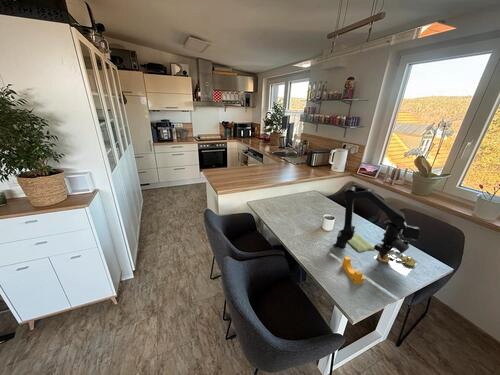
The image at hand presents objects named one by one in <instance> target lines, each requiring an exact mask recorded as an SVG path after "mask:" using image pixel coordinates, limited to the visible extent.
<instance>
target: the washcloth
mask: <svg viewBox="0 0 500 375" xmlns="http://www.w3.org/2000/svg"><path fill="white" fill-rule="evenodd" d="M347 244H349V245H350V247H351V248H353V249H354V250H355V251H357V253H364V252H365V253H366V252H368V251H370V252H371V251H372V252H373V251H376V250H375V249H374V246H373V245H372V244H370V243H369V242H368V241H367V240H365V238H364V237H362V236H361V235H360V234H358V233H354V237H352V239H351V240H348V241H347Z"/></svg>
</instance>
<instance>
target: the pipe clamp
mask: <svg viewBox="0 0 500 375" xmlns="http://www.w3.org/2000/svg"><path fill="white" fill-rule="evenodd" d="M351 261H352V259H351V258H350V257H349V256H343V261H342V264H341V267H342V268H343V270H344V271H345V273H346V274H347V276H349V278H350V279H351V281H352V282H353V283H354V285H358V284H359V285H360V284H364V282H365V278H364V276H363V275H364V274H363V272H362V271H360V270H359V271H358V270H356V269H353V267H352V262H351Z"/></svg>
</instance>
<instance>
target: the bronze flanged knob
mask: <svg viewBox="0 0 500 375" xmlns="http://www.w3.org/2000/svg"><path fill="white" fill-rule="evenodd" d="M387 255H388V254H387ZM387 255H385V256H384V257H383V258H381V257H380V254H379V253H377V259H378V260H377V259H376V260H377V261H378V262H380V261H381V263H382V262H383V263H382V264H384V263H388V262H389V260H390V258H389V257H388V256H387Z"/></svg>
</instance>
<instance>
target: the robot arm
mask: <svg viewBox="0 0 500 375" xmlns="http://www.w3.org/2000/svg"><path fill="white" fill-rule="evenodd" d="M343 197H344V202H345V210H344V211H345V214H344V224H343V229H341V230H338V233H337V236H336V242H335V243H334V244H332V246H333V247H335V248H336V249H338V248H339V249H345V248H346V247H347V244H348V242H347V241H348V240H351V239H352V237H354V234H356V233H355V232H356V230H355V228H356V226H354V225H353V214H354V202H355V200H356V199H364V198H366V199H368V200H369V201H370V202H372V204H373V205H375V206H376V207H377V208H379V209H380V210H381V211H382V212H383V213H384V214H385V215H386V217H387V219H386V220H384V225H385V226H386V229H385V232H384V233H383V237H382V239H381V241H380V242H381V243H380V242H378V243H376V244H375V245H374V246H373V247H374V249H375V250H374V251H377V252H378V254H380V257H381V258H383V257H384V256H385V255H387V254H388V253H390V252H391V249H392V248H393V249H395V250H398V251H399V252H400V253H402V254H404V252H406V251H407V250H408V249H409V248H410V241H408V240H402V239H401V238H400V235H401V236H402V238H405V239H409V240H412V241H418V240H419V238H420V231H421V228H420V227H418V226H414V225H409V224H407V221H406V219H405V213H404V212H403V211H401V210H399V209H398V208H397V207H394V206H391V205H390V204H389V203H388V202H386V201H385V200H384V199H382V198H381V197H380V196H379V195H378V194H377V193H376V192H374V191H373V190H372V188H364V187H359V186H357V187H355V186H352V185H351V186H350V185H349V186H347V187H346V188H345V190H344V193H343Z"/></svg>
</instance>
